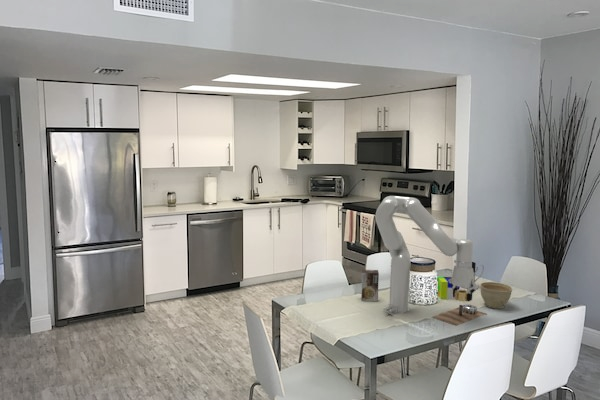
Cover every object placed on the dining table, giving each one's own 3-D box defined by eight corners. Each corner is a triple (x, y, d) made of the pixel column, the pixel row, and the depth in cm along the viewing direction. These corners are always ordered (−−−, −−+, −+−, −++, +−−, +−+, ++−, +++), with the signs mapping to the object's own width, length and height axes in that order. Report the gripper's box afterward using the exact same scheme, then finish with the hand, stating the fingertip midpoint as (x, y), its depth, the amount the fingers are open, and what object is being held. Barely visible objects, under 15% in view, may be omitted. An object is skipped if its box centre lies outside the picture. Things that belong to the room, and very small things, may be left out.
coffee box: (377, 297, 284) (378, 269, 282) (378, 301, 278) (379, 273, 276) (361, 297, 285) (362, 269, 283) (361, 300, 279) (362, 272, 276)
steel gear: (471, 314, 255) (472, 309, 255) (459, 310, 261) (459, 305, 261) (479, 311, 260) (480, 306, 260) (467, 307, 266) (467, 302, 265)
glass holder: (457, 284, 311) (458, 261, 309) (478, 284, 314) (480, 260, 312) (464, 289, 303) (466, 264, 301) (486, 288, 305) (487, 264, 303)
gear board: (455, 328, 241) (456, 315, 240) (431, 320, 252) (431, 307, 251) (486, 316, 258) (487, 304, 257) (462, 308, 269) (462, 296, 268)
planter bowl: (482, 310, 268) (483, 290, 266) (476, 300, 284) (477, 281, 282) (514, 312, 265) (515, 291, 264) (506, 301, 281) (507, 282, 280)
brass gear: (464, 302, 249) (464, 294, 249) (451, 298, 255) (452, 291, 254) (472, 299, 254) (473, 291, 253) (459, 295, 259) (460, 288, 259)
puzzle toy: (458, 299, 284) (459, 282, 283) (440, 299, 284) (441, 281, 283) (453, 293, 294) (454, 277, 293) (436, 293, 294) (437, 276, 293)
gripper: (444, 262, 256) (443, 295, 259) (475, 269, 243) (473, 304, 245) (453, 259, 261) (451, 293, 263) (484, 266, 248) (482, 301, 250)
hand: (462, 298), depth 254 cm, fingers closed on brass gear, 7 cm apart
